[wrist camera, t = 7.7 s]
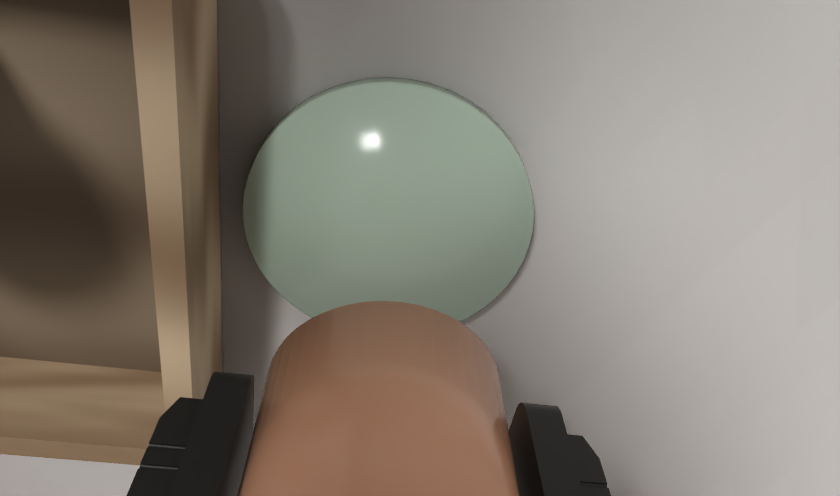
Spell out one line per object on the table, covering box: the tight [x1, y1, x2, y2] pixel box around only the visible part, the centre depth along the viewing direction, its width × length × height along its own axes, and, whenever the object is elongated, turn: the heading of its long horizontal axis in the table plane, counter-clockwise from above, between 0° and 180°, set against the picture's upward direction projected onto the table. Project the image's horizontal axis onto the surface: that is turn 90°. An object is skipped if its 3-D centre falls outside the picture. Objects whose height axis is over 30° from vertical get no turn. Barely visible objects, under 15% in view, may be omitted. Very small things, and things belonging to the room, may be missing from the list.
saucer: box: [243, 78, 534, 322], centre depth 19 cm, size 8×8×1 cm
